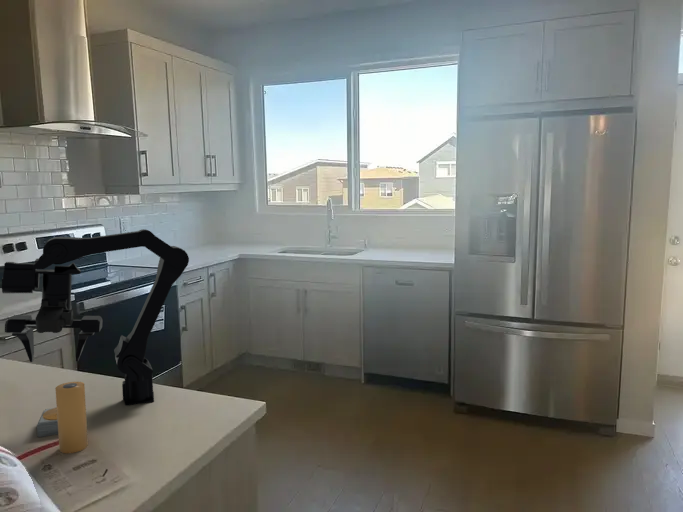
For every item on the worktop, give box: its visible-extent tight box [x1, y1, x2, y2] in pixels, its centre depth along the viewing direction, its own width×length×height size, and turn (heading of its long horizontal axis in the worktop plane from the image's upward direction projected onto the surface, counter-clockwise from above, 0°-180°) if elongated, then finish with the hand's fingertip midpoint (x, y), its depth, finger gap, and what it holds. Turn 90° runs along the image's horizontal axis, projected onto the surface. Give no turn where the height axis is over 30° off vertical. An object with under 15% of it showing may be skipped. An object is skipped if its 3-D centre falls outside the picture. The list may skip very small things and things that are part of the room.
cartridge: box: [54, 381, 89, 454], centre depth 102 cm, size 5×5×13 cm
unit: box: [36, 406, 58, 438], centre depth 112 cm, size 8×8×3 cm
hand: (54, 361), depth 118 cm, fingers open, 9 cm apart
